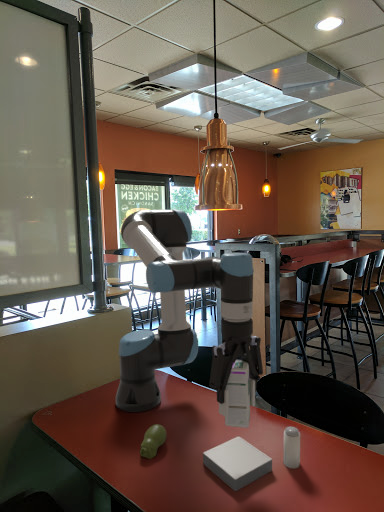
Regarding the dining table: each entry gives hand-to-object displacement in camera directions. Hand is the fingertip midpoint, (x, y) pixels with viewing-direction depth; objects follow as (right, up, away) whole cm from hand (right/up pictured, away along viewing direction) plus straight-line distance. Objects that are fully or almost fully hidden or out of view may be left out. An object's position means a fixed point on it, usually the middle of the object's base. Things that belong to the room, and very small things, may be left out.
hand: (237, 409), depth 92 cm
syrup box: (0, -3, 0) cm, 3 cm away
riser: (0, -15, +2) cm, 15 cm away
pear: (-22, -15, +10) cm, 28 cm away
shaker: (+14, -15, +3) cm, 21 cm away
